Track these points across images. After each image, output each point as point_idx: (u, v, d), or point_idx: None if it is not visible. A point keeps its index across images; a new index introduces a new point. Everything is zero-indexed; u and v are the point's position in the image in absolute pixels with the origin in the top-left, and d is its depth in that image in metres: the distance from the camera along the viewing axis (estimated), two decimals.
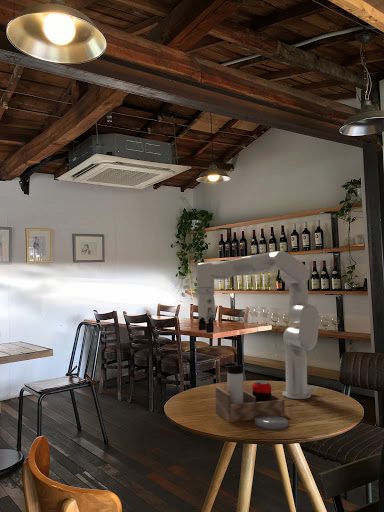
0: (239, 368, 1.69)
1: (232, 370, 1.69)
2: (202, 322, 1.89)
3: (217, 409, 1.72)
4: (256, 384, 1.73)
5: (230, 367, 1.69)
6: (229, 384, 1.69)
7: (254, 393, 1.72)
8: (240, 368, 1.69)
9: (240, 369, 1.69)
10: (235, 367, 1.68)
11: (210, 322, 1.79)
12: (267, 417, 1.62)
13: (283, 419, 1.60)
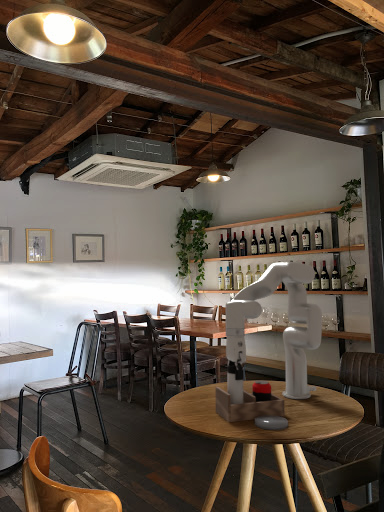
0: None
1: (232, 370, 1.69)
2: None
3: (217, 409, 1.72)
4: (256, 384, 1.73)
5: (230, 367, 1.69)
6: (229, 384, 1.69)
7: (254, 393, 1.72)
8: None
9: None
10: (235, 367, 1.68)
11: (240, 369, 1.66)
12: (267, 417, 1.62)
13: (283, 419, 1.60)
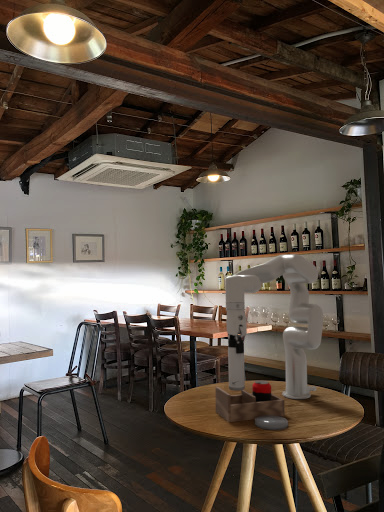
0: None
1: (233, 344, 1.69)
2: None
3: (217, 409, 1.72)
4: (256, 384, 1.73)
5: (231, 341, 1.70)
6: (230, 358, 1.70)
7: (254, 393, 1.72)
8: None
9: None
10: (236, 341, 1.69)
11: (240, 342, 1.67)
12: (267, 417, 1.62)
13: (283, 419, 1.60)
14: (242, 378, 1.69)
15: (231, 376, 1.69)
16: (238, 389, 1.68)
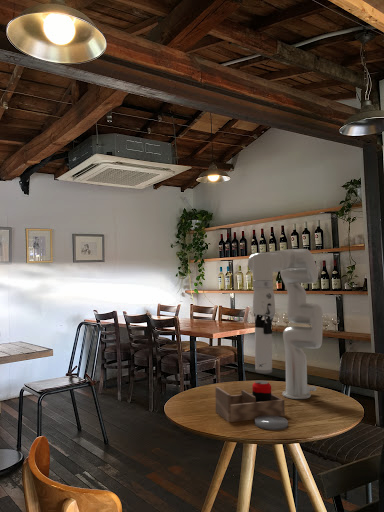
0: None
1: (260, 324, 1.61)
2: None
3: (217, 409, 1.72)
4: (256, 384, 1.73)
5: (258, 321, 1.61)
6: (257, 339, 1.61)
7: (254, 393, 1.72)
8: None
9: None
10: (263, 321, 1.60)
11: (268, 322, 1.59)
12: (267, 417, 1.62)
13: (283, 419, 1.60)
14: (270, 360, 1.60)
15: (258, 358, 1.61)
16: (265, 372, 1.59)
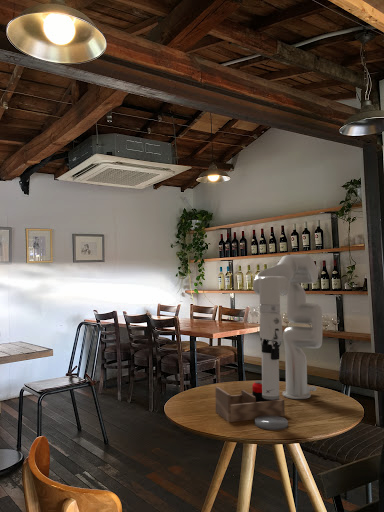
0: None
1: (267, 349, 1.58)
2: None
3: (217, 409, 1.72)
4: (256, 384, 1.73)
5: (265, 346, 1.59)
6: (264, 364, 1.59)
7: (254, 393, 1.72)
8: None
9: None
10: (270, 346, 1.58)
11: (276, 347, 1.56)
12: (267, 417, 1.62)
13: (283, 419, 1.60)
14: (277, 386, 1.58)
15: (265, 384, 1.58)
16: (273, 398, 1.57)
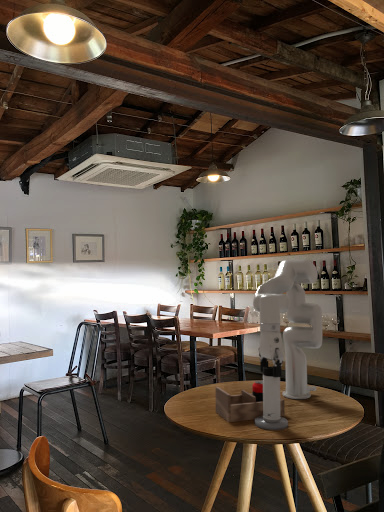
0: None
1: (268, 372, 1.57)
2: (264, 362, 1.65)
3: (217, 409, 1.72)
4: (256, 384, 1.73)
5: (266, 369, 1.58)
6: (265, 387, 1.58)
7: (254, 393, 1.72)
8: None
9: None
10: (272, 369, 1.57)
11: (278, 365, 1.55)
12: None
13: (283, 419, 1.60)
14: (278, 409, 1.57)
15: (266, 407, 1.57)
16: (274, 421, 1.56)
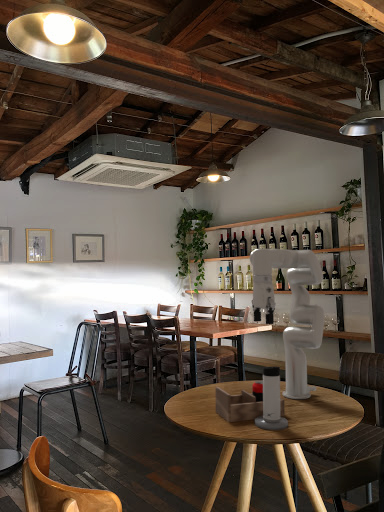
0: (276, 370, 1.58)
1: (268, 372, 1.57)
2: (257, 313, 1.76)
3: (217, 409, 1.72)
4: (256, 384, 1.73)
5: (266, 369, 1.58)
6: (265, 387, 1.58)
7: (254, 393, 1.72)
8: (277, 370, 1.58)
9: (277, 371, 1.58)
10: (272, 369, 1.57)
11: (270, 313, 1.66)
12: None
13: (283, 419, 1.60)
14: (278, 409, 1.57)
15: (266, 407, 1.57)
16: (274, 421, 1.56)
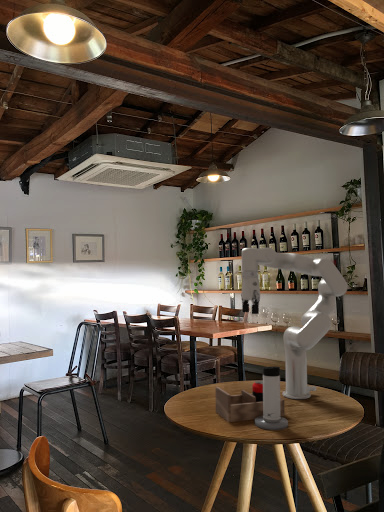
0: (276, 370, 1.58)
1: (268, 372, 1.57)
2: (245, 304, 2.00)
3: (217, 409, 1.72)
4: (256, 384, 1.73)
5: (266, 369, 1.58)
6: (265, 387, 1.58)
7: (254, 393, 1.72)
8: (277, 370, 1.58)
9: (277, 371, 1.58)
10: (272, 369, 1.57)
11: (256, 304, 1.89)
12: None
13: (283, 419, 1.60)
14: (278, 409, 1.57)
15: (266, 407, 1.57)
16: (274, 421, 1.56)
